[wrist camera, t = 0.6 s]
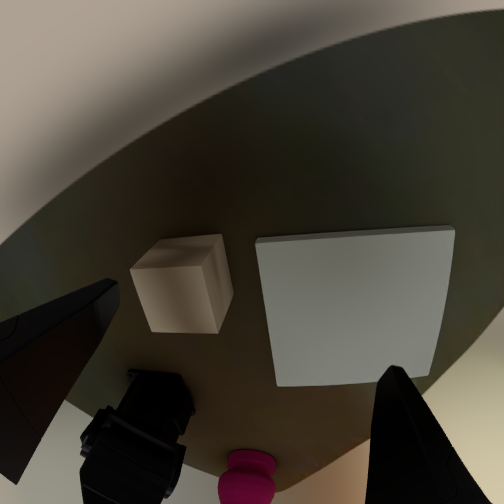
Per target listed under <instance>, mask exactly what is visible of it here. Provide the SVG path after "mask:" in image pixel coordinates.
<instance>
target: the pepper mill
mask: <svg viewBox="0 0 504 504" xmlns="http://www.w3.org/2000/svg"><path fill="white" fill-rule="evenodd" d="M275 466H276V462H275V460H274V458H273V457H272V456H270V455H268V454H266V453H264V452H260V451H256V450H237V451H234V452H232V453H231V454H230V455H229V458H228V462H227V468H228V471H226V472H224V473H223V474H222V475H221V476H220V478H219V482H218V495H219V499H220V503H221V504H270V503H271V501H272V499H273V497H274V494H275V491H276V485H275V483H274V481H273V479H272V478H271V476H273V475H274V472H275Z"/></svg>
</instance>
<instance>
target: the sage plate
mask: <svg viewBox="0 0 504 504" xmlns="http://www.w3.org/2000/svg"><path fill="white" fill-rule="evenodd" d="M454 236H455V229H453V228H452V227H451V226H450V225H439V226H422V227H406V228H390V229H374V230H359V231H344V232H330V233H315V234H302V235H288V236H274V237H261V238H257V240H256V243H255V246H256V252H257V259H258V265H259V271H260V278H261V284H262V291H263V297H264V303H265V310H266V316H267V323H268V329H269V336H270V342H271V349H272V355H273V362H274V368H275V375H276V381H277V386H318V385H338V384H354V383H366V382H377V381H378V380H379V379H380V377H381V376H382V375H383V374H384V372H385V371H386V370H387V368H388V367H389V366H390V365H396V366H401V367H403V368H404V370H405V371H406V373H407V374H408V376H409V377H410V378H412V377H420V376H427V375H428V374H429V371H430V367H431V363H432V360H433V356H434V352H435V348H436V344H437V340H438V335H439V331H440V326H441V322H442V317H443V312H444V307H445V301H446V296H447V290H448V284H449V277H450V270H451V263H452V255H453V246H454Z"/></svg>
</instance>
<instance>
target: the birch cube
mask: <svg viewBox="0 0 504 504" xmlns="http://www.w3.org/2000/svg"><path fill="white" fill-rule="evenodd" d="M130 272H131V275H132V278H133V281H134V284H135V287H136V290H137V293H138V296H139V298H140V301H141V304H142V307H143V310H144V312H145V315H146V318H147V320H148V323H149V326H150V328H151V331H152V332H170V333H219V330H220V328H221V325H222V323H223V320H224V318H225V315H226V313H227V310H228V307H229V305H230V302H231V300H232V297H233V295H234V292H233V287H232V282H231V277H230V272H229V267H228V262H227V257H226V252H225V247H224V242H223V237H222V234H213V235H202V236H191V237H180V238H169V239H160V240H159V241H158V242H157V243H156V244H155V245H154V246H153V247H152V248H151V249H150V250H149V251H148V252H147V253H146V254H145V255H144V256H143V257H142V258H141V259H140V260H139V261H138V262H137V263H136V264H135V265H134V266H133V267H132V268H131V269H130Z"/></svg>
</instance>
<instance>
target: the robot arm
mask: <svg viewBox="0 0 504 504" xmlns="http://www.w3.org/2000/svg"><path fill="white" fill-rule="evenodd" d="M119 304H120V290H119V283H118V282H117V281H115V280H112V279H109V278H106V279H103V280H101V281H98V282H96V283H93V284H91V285H88V286H86V287H83V288H81V289H79V290H76V291H74V292H71V293H69V294H66V295H64V296H62V297H59V298H57V299H54V300H52V301H50V302H47V303H45V304H43V305H40V306H38V307H35V308H33V309H31V310H28V311H26V312H24V313H21V314H20V315H16V316H14V317H12V318H10V319H7V320H5V321H2V322H0V473H1V474H2V475H3V476H5V477H6V478H7V479H8V480H10V481H11V482H13V483H14V484H15V485H17V483H18V482H19V480H20V478H21V476H22V474H23V472H24V470H25V468H26V467H27V465H28V463H29V461H30V459H31V457H32V455H33V454H34V452H35V450H36V448H37V446H38V444H39V443H40V441H41V438H42V437H43V435H44V433H45V432H46V430H47V428H48V427H49V425H50V423H51V421H52V420H53V418H54V416H55V414H56V413H57V411H58V409H59V408H60V406H61V404H62V403H63V401H64V399H65V398H66V396H67V394H68V393H69V391H70V390H71V388H72V386H73V385H74V383H75V382H76V380H77V378H78V377H79V375H80V374H81V372H82V370H83V369H84V367H85V366H86V364H87V363H88V361H89V359H90V358H91V356H92V355H93V353H94V352H95V350H96V349H97V347H98V345H99V344H100V342H101V340H102V338H103V336H104V334H105V332H106V330H107V329H108V327H109V325H110V323H111V321H112V319H113V317H114V315H115V313H116V311H117V309H118V307H119ZM126 374H127V376H128V378H129V380H130V382H131V385H130V387H129V389H128V390H127V392H126V394H125V396H124V397H123V399H122V401H121V402H120V404H119V406H118V408H117V409H116V410H114V409H113V408H112V407H111V406H109V405H108V406H107V408H106V409H99V410H98V412H97V413H96V415H95V417H94V418H93V420H92V421H91V423H90V424H89V425H88V426H87V428H86V429H85V430H84V432H83V433H82V435H81V436H80V439H81V442H82V446H81V448H82V450H81V452H80V455H81V456H83V457H85V458H86V459H85V461H84V463H83V465H82V467H81V468H80V482H81V490H82V497H83V503H84V504H161V502H162V500H163V498H165V499H167V498H168V497H169V496H170V495H171V493H172V492H173V490H174V488H175V487H176V484H177V482H178V479H179V477H180V473H181V468H182V464H183V459H184V455H185V451H186V446H184V445H182V444H181V445H180V444H178V443H176V442H177V439H178V437H179V435H180V436H182V435H183V434H184V433H185V430H186V427H187V425H188V422H189V419H190V417H191V416H193V415H195V412H196V411H195V409H194V405H193V403H192V401H191V399H190V396H189V394H188V392H187V390H186V388H185V386H184V383H183V381H182V379H181V377H180V376H179V375H176V374H166V373H155V372H146V371H137V370H128V371H127V373H126ZM365 504H492V503H491V502H490V501H489V500H488V498H487V497H486V496H485V495H484V493H483V492H482V490H481V489H480V487H479V486H478V484H477V483H476V481H475V480H474V479H473V477H472V476H471V475H470V473H469V471H468V470H467V468H466V467H465V465H464V464H463V462H462V461H461V459H460V457H459V456H458V454H457V452H456V451H455V449H454V447H452V444H451V443H450V441H449V440H448V438H447V436H446V434H445V433H444V431H443V429H442V428H441V426H440V424H439V423H438V421H437V420H436V418H435V416H434V415H433V414H432V412H431V410H430V408H429V407H428V405H427V404H426V402H425V401H424V399H423V397H422V396H421V394H420V393H419V391H418V390H417V388H416V387H415V385H414V384H413V382H412V380H411V379H410V377H409V376H408V374H407V373H406V371H405V370H404V368H403V367H401V366H396V365H390V366H389V367H388V368H387V370H386V371H385V372H384V374H383V375H382V376H381V377H380V379H379V380H378V383H377V387H376V395H375V402H374V409H373V416H372V423H371V437H370V454H369V467H368V479H367V489H366V499H365Z"/></svg>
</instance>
